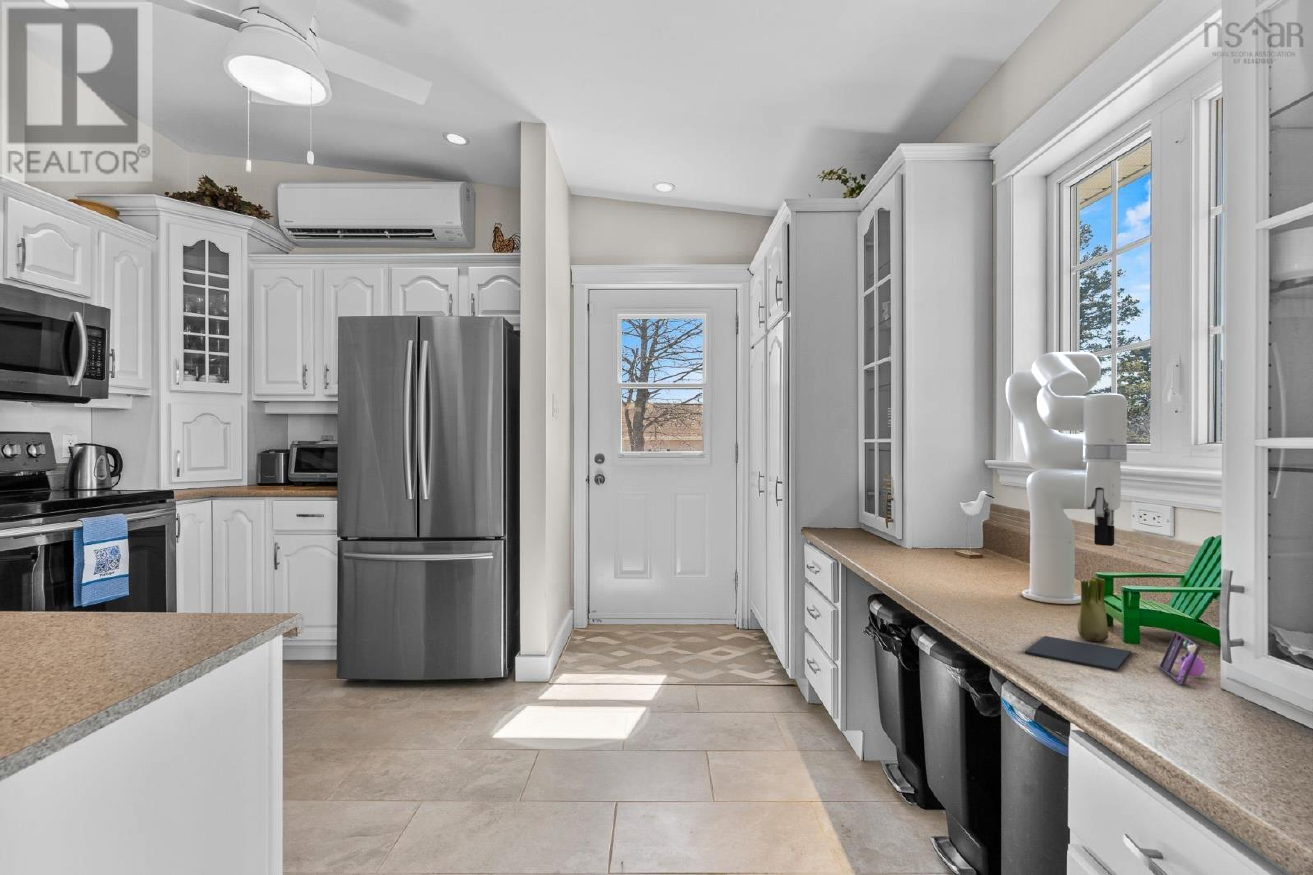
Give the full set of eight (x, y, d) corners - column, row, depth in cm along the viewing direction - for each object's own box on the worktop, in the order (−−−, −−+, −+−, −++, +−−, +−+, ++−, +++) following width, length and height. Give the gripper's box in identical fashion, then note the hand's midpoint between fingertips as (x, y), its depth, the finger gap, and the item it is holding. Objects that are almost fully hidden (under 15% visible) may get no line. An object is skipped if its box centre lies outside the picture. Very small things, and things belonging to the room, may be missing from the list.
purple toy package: (1170, 629, 119) (1193, 643, 110) (1204, 642, 117) (1230, 658, 109) (1154, 665, 120) (1175, 682, 111) (1188, 679, 118) (1212, 697, 109)
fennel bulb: (1082, 642, 134) (1083, 579, 134) (1070, 635, 139) (1071, 574, 139) (1115, 644, 133) (1115, 580, 133) (1101, 637, 138) (1102, 575, 138)
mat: (1045, 637, 137) (1045, 635, 137) (1131, 653, 128) (1131, 650, 128) (1024, 653, 127) (1024, 651, 127) (1116, 671, 117) (1116, 668, 117)
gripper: (1091, 454, 152) (1090, 540, 151) (1075, 454, 141) (1074, 546, 140) (1132, 455, 147) (1132, 543, 146) (1119, 454, 136) (1119, 550, 135)
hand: (1104, 544), depth 143 cm, fingers closed
